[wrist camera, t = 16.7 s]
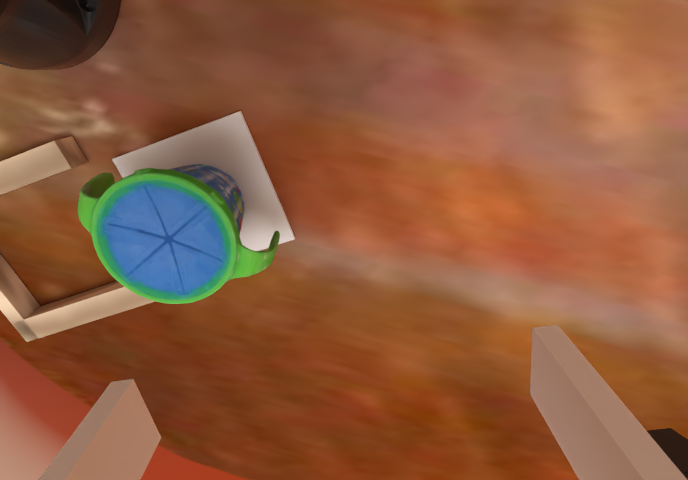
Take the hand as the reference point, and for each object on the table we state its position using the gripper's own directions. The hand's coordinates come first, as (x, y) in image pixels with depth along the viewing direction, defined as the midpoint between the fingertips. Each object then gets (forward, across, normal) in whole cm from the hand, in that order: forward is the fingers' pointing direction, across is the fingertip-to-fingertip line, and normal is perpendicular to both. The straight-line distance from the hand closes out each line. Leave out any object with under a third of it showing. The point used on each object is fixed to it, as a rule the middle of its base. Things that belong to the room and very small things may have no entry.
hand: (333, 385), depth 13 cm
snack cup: (+26, -13, 0) cm, 30 cm away
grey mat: (+27, -13, 0) cm, 30 cm away
